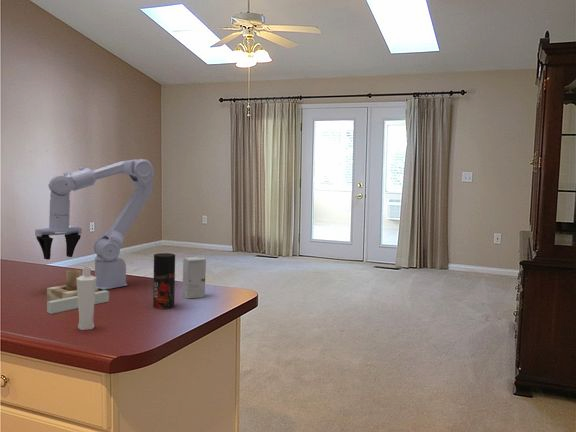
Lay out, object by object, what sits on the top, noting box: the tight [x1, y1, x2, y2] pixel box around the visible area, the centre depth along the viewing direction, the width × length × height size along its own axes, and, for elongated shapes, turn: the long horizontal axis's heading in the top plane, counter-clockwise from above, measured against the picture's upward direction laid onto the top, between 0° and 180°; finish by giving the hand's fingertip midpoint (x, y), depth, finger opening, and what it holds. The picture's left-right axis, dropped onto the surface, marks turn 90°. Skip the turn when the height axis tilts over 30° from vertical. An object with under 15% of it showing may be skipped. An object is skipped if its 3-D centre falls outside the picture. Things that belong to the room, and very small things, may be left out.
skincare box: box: [181, 256, 207, 299], centre depth 162 cm, size 6×4×12 cm
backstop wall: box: [46, 289, 110, 315], centre depth 146 cm, size 18×2×3 cm, turn 145°
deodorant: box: [152, 252, 176, 310], centre depth 149 cm, size 6×6×15 cm
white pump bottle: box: [76, 266, 96, 331], centre depth 127 cm, size 5×4×15 cm
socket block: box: [46, 284, 99, 302], centre depth 151 cm, size 10×10×4 cm
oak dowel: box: [65, 269, 82, 291], centre depth 150 cm, size 4×4×8 cm
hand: (58, 257), depth 162 cm, fingers open, 7 cm apart
